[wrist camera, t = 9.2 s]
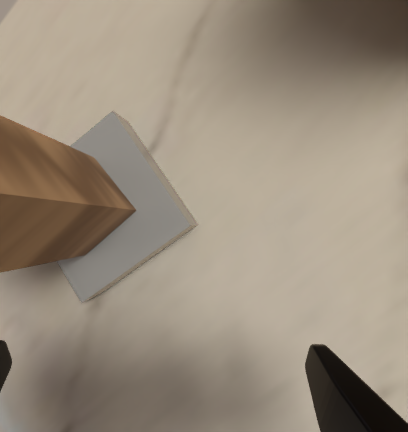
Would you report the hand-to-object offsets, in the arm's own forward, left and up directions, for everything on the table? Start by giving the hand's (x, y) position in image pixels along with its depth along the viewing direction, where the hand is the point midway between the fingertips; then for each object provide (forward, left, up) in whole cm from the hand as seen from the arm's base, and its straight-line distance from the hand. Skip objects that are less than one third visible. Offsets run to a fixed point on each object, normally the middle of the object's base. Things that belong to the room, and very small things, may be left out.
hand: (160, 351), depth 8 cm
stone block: (+8, +6, -14) cm, 17 cm away
